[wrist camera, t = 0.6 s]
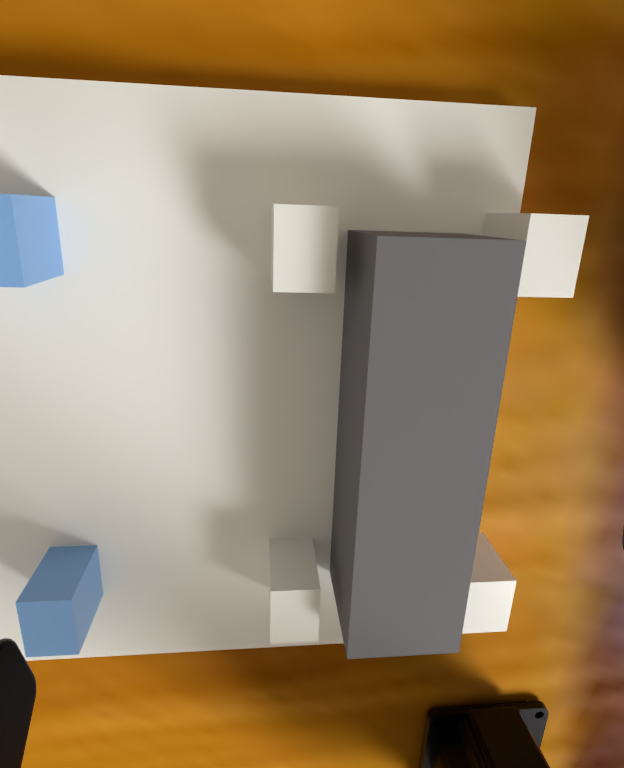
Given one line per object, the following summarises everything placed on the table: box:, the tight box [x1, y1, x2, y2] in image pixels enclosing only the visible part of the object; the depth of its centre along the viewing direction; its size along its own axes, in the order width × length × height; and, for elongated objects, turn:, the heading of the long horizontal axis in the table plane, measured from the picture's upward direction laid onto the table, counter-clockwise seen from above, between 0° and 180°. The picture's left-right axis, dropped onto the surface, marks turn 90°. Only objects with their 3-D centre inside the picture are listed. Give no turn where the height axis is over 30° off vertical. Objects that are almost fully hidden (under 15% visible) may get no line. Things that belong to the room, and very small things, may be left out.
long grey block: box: [330, 230, 526, 659], centre depth 17 cm, size 14×4×4 cm, turn 178°
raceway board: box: [0, 75, 589, 661], centre depth 18 cm, size 22×25×4 cm
